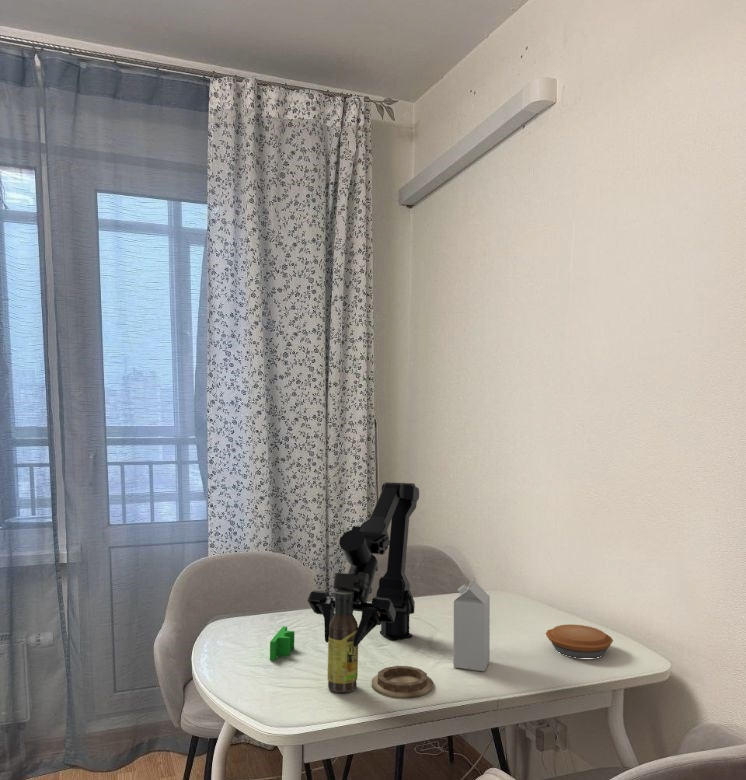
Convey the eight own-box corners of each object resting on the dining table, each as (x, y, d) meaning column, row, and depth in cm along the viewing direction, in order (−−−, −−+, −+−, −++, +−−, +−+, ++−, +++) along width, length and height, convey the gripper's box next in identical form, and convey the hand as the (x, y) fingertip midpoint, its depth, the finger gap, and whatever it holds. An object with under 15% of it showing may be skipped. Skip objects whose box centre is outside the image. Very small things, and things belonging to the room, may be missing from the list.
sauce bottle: (351, 696, 132) (352, 596, 133) (322, 692, 134) (324, 594, 135) (361, 684, 138) (362, 589, 139) (334, 680, 140) (335, 586, 141)
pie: (626, 655, 157) (626, 634, 157) (582, 668, 148) (582, 645, 149) (576, 636, 170) (575, 617, 170) (532, 647, 162) (532, 626, 162)
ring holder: (413, 669, 147) (413, 660, 147) (445, 691, 135) (445, 681, 135) (361, 679, 141) (361, 669, 141) (389, 703, 129) (390, 692, 129)
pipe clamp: (285, 662, 150) (285, 642, 151) (269, 661, 151) (269, 641, 151) (297, 645, 162) (297, 626, 162) (282, 644, 162) (282, 625, 162)
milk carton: (489, 661, 152) (489, 578, 153) (484, 672, 145) (484, 586, 146) (459, 657, 154) (459, 576, 155) (453, 668, 147) (453, 583, 148)
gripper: (311, 553, 144) (287, 618, 133) (392, 560, 137) (373, 629, 127) (326, 581, 151) (304, 645, 140) (402, 589, 145) (386, 656, 134)
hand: (340, 643), depth 135 cm, fingers closed on sauce bottle, 6 cm apart
